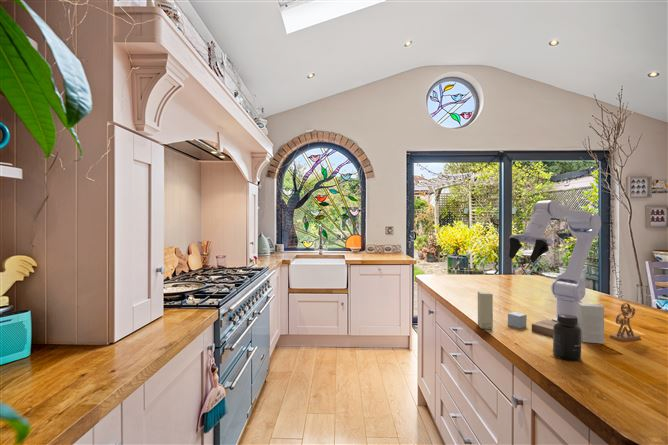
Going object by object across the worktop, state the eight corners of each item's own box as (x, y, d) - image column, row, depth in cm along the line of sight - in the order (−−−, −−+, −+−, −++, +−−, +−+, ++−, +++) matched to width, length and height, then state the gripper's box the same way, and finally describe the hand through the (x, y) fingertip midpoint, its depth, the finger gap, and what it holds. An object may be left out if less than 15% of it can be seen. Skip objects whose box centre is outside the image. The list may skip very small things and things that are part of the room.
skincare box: (598, 339, 112) (599, 304, 112) (604, 344, 108) (604, 307, 107) (577, 337, 114) (577, 302, 114) (582, 342, 110) (582, 305, 109)
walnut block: (546, 327, 125) (546, 319, 125) (576, 335, 117) (576, 327, 117) (531, 332, 120) (531, 323, 120) (561, 340, 112) (562, 331, 112)
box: (493, 329, 121) (493, 294, 121) (480, 328, 122) (480, 293, 122) (489, 325, 127) (489, 291, 126) (477, 324, 127) (477, 290, 127)
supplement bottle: (582, 363, 93) (583, 321, 93) (553, 358, 97) (553, 317, 97) (580, 355, 99) (580, 314, 99) (552, 350, 103) (553, 311, 102)
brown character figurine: (621, 341, 110) (622, 305, 110) (609, 337, 114) (609, 302, 114) (641, 339, 113) (641, 303, 112) (628, 335, 116) (628, 300, 116)
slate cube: (514, 323, 129) (514, 311, 129) (526, 326, 125) (526, 314, 125) (507, 325, 127) (507, 313, 127) (519, 328, 123) (519, 316, 123)
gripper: (512, 220, 126) (496, 249, 123) (552, 222, 114) (537, 255, 110) (520, 231, 129) (505, 260, 126) (560, 235, 117) (545, 267, 113)
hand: (521, 259), depth 118 cm, fingers open, 7 cm apart
